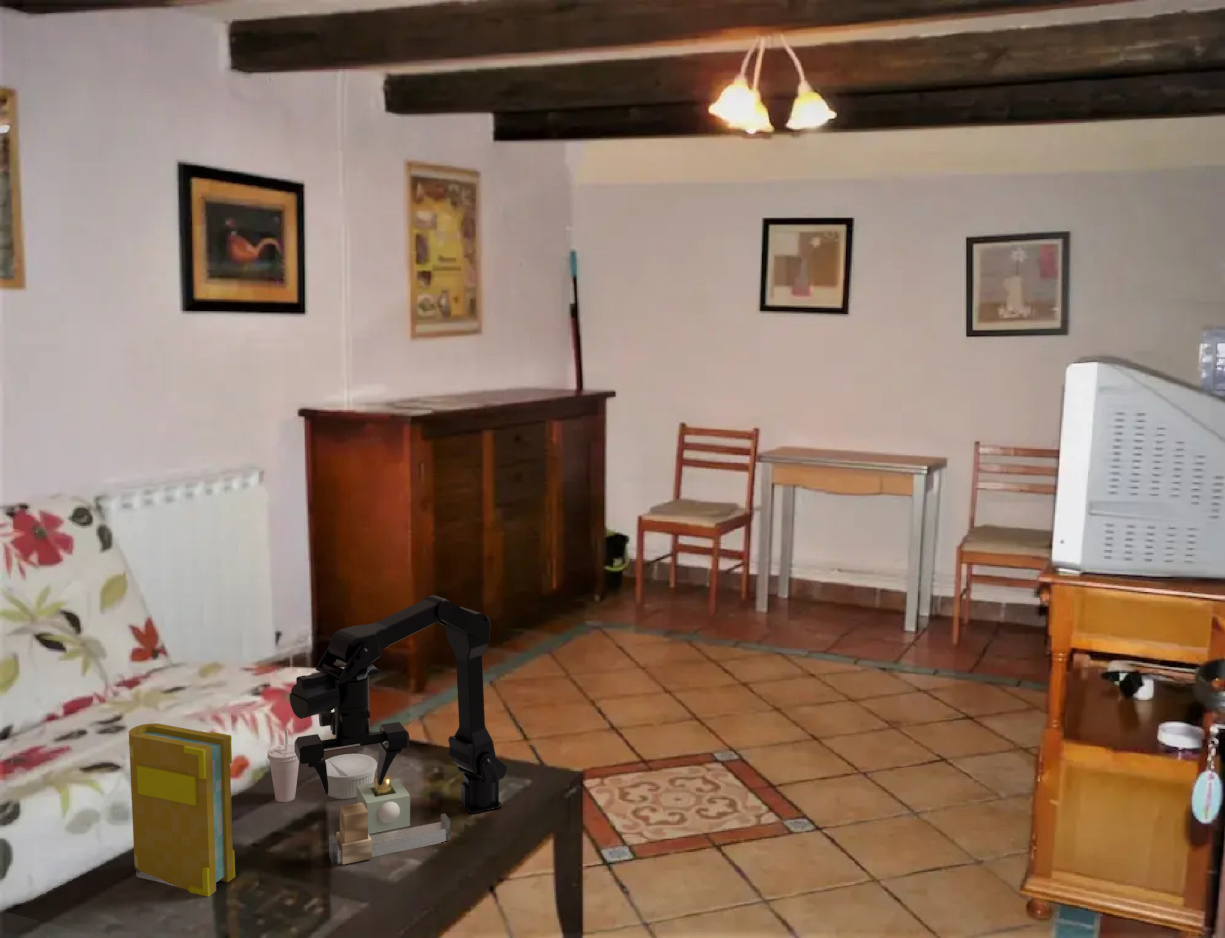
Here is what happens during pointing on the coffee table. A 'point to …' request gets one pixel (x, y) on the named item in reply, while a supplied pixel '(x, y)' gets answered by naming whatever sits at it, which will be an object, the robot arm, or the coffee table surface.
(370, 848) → the carriage
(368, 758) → the ramekin
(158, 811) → the book
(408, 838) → the rail
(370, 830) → the cabinet
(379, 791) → the button
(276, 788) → the smoothie
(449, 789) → the coffee table surface
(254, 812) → the coffee table surface
